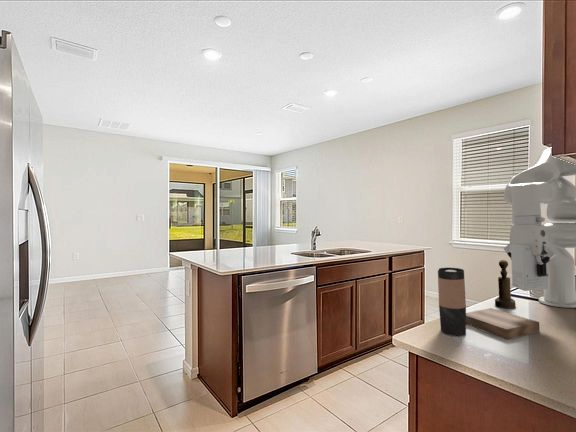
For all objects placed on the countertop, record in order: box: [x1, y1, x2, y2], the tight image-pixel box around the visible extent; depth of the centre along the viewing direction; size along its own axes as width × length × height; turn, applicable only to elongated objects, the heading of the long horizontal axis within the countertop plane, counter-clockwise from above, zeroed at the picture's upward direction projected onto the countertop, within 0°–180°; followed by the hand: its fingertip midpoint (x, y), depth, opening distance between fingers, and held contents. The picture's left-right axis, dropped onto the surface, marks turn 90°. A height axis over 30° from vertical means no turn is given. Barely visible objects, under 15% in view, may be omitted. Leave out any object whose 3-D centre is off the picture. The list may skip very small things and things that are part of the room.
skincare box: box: [510, 244, 548, 292], centre depth 105 cm, size 8×6×15 cm
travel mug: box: [437, 267, 467, 337], centre depth 101 cm, size 8×8×20 cm
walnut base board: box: [466, 307, 540, 340], centre depth 103 cm, size 14×16×3 cm
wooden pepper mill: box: [494, 259, 517, 309], centre depth 123 cm, size 7×6×18 cm
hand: (529, 273), depth 105 cm, fingers closed on skincare box, 6 cm apart
